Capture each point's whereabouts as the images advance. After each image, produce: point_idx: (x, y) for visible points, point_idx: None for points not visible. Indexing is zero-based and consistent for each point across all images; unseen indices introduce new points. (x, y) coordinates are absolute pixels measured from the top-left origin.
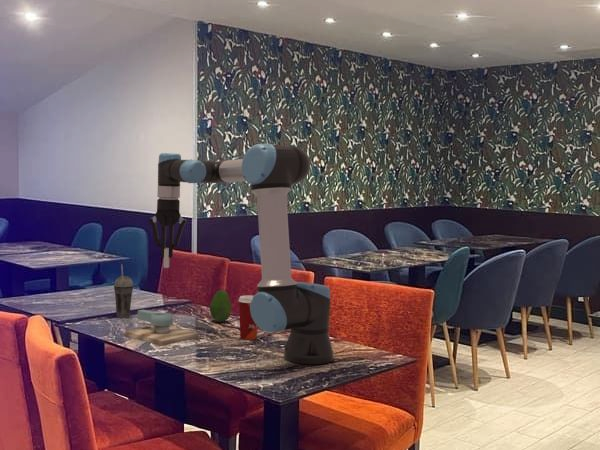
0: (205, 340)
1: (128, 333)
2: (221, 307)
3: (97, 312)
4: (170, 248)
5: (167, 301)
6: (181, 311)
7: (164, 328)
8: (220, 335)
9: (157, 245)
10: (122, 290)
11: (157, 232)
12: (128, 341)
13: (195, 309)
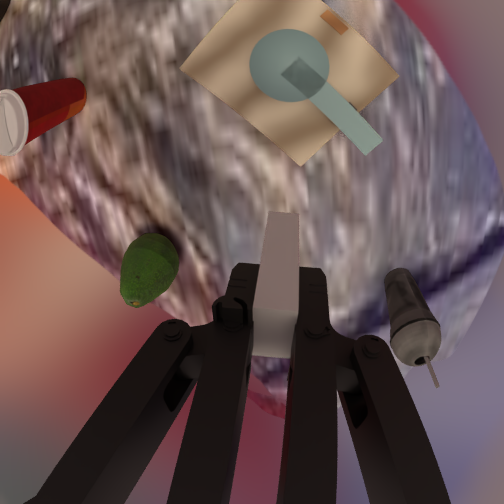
0: (159, 41)
1: (387, 63)
2: (138, 247)
3: (439, 310)
4: (229, 297)
5: None
6: None
7: None
8: (130, 102)
9: (371, 340)
10: (421, 314)
11: (377, 483)
12: (376, 12)
13: None
